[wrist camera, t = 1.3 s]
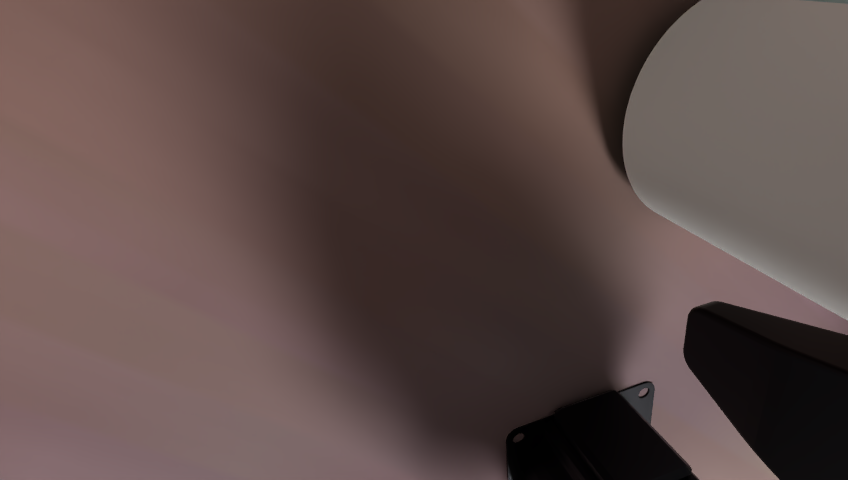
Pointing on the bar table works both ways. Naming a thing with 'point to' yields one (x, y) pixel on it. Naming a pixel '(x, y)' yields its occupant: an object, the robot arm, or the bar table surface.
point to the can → (751, 137)
